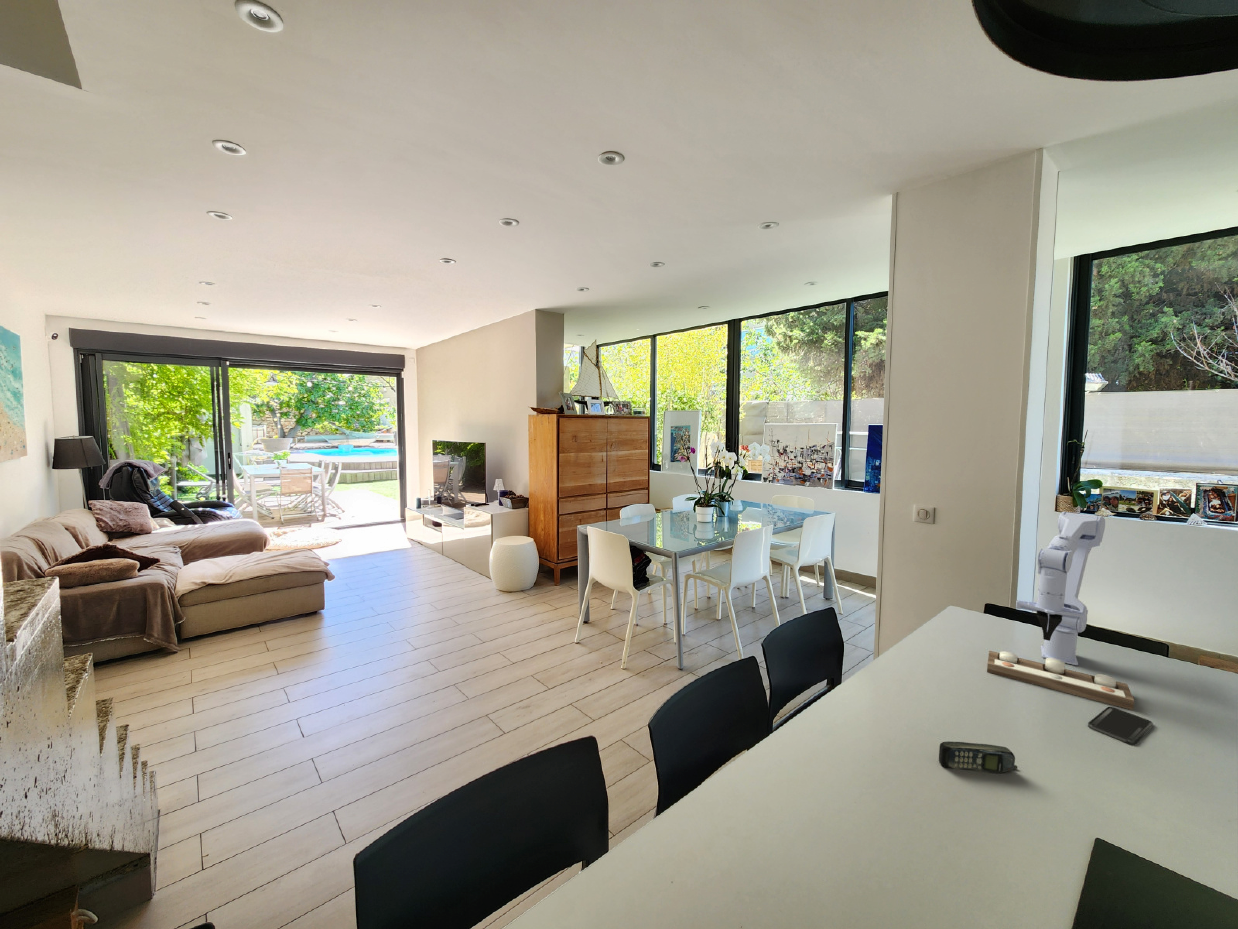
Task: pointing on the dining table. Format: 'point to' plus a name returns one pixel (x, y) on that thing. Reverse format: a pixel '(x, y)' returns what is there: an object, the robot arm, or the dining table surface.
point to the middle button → (1055, 665)
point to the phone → (1120, 725)
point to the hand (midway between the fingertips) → (1046, 639)
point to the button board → (1061, 686)
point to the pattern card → (1060, 678)
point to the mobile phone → (976, 757)
